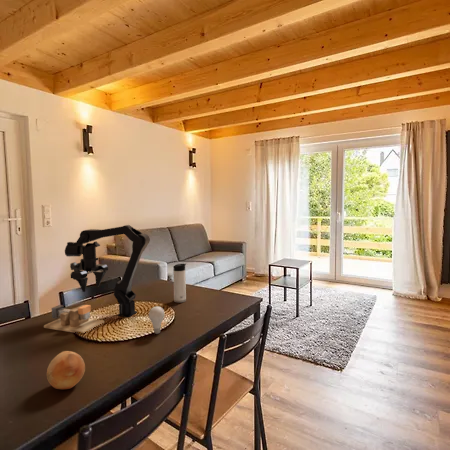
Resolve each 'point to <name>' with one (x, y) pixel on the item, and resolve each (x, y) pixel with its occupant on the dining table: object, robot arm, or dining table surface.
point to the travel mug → (179, 283)
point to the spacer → (84, 309)
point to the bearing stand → (73, 322)
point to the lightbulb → (156, 318)
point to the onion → (65, 370)
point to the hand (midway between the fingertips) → (91, 289)
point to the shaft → (60, 309)
